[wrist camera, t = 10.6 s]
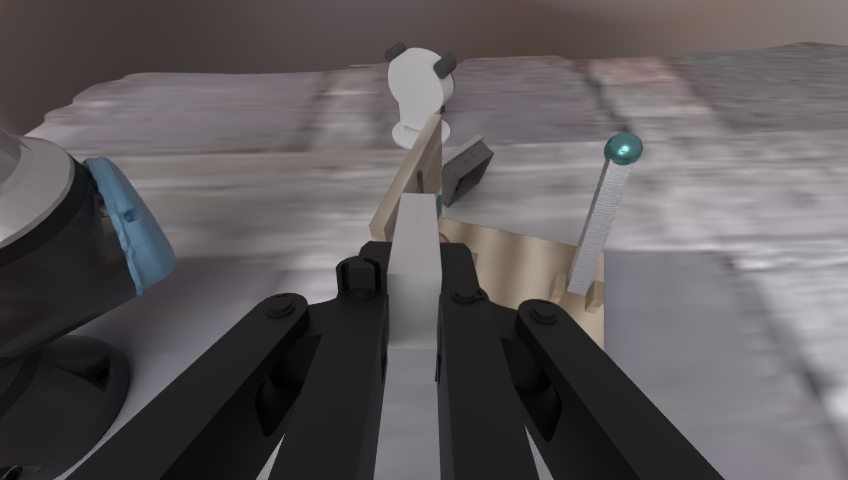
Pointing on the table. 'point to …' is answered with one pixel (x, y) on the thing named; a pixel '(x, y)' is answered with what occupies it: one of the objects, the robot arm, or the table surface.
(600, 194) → the teal lever
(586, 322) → the switch unit
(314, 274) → the table surface
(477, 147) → the electrical switch
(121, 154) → the table surface
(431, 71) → the panda figurine
